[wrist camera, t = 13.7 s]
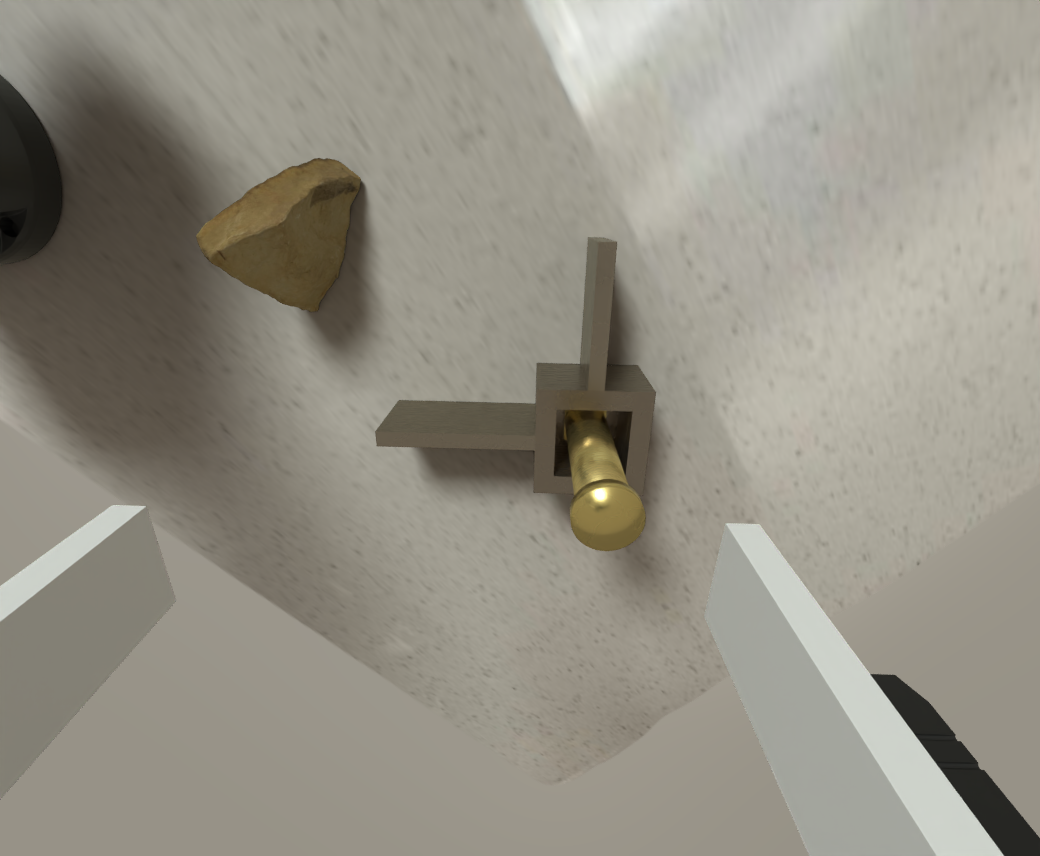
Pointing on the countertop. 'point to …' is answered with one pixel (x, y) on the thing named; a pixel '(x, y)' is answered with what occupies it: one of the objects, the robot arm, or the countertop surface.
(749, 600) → the robot arm
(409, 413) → the hinge
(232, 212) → the rock
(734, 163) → the countertop surface
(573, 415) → the hinge pin
